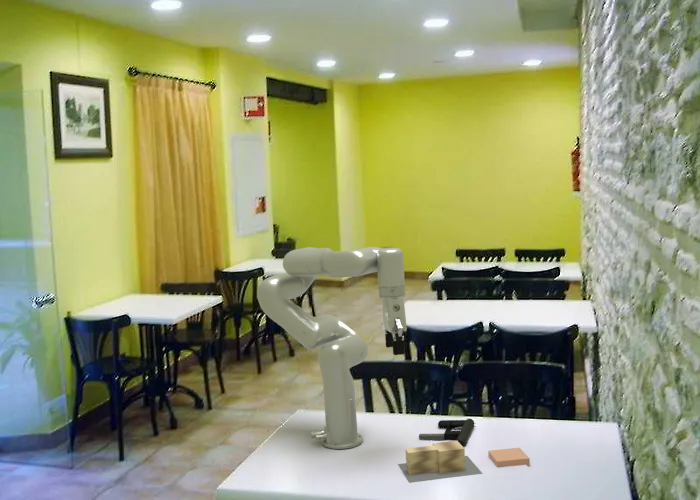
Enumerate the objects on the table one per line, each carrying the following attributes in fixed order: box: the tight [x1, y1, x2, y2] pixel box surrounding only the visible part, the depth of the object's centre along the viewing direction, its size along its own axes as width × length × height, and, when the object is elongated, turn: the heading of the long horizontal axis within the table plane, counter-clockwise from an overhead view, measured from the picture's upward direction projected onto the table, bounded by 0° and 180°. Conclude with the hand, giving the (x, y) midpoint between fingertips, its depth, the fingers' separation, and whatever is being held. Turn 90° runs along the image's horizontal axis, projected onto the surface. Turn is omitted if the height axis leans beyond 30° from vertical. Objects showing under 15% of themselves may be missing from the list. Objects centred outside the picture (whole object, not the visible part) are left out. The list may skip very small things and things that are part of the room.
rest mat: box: [397, 455, 483, 484], centre depth 201 cm, size 20×13×1 cm, turn 99°
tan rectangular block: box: [488, 447, 531, 468], centre depth 204 cm, size 3×8×9 cm
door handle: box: [418, 418, 477, 448], centre depth 226 cm, size 3×20×16 cm
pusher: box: [405, 440, 466, 475], centre depth 200 cm, size 15×6×6 cm, turn 99°
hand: (395, 350), depth 212 cm, fingers open, 9 cm apart
